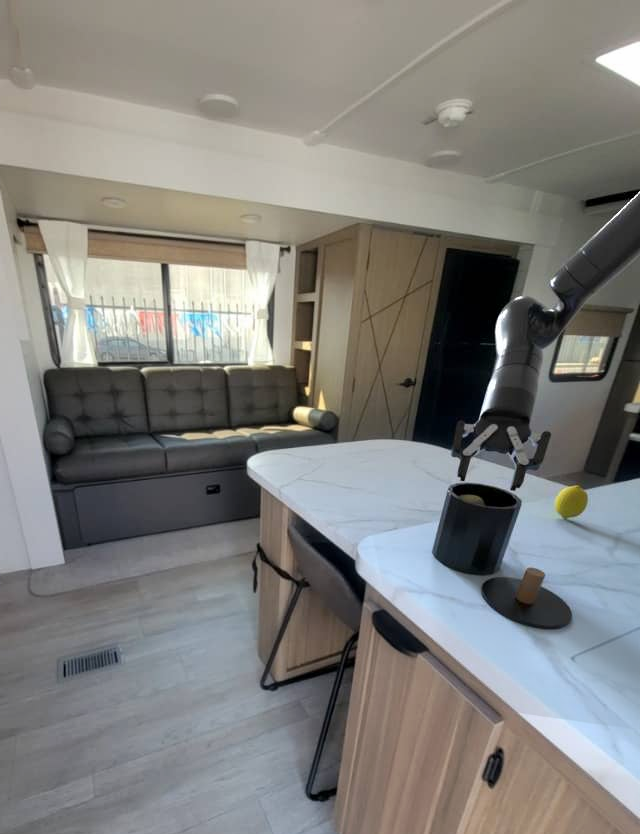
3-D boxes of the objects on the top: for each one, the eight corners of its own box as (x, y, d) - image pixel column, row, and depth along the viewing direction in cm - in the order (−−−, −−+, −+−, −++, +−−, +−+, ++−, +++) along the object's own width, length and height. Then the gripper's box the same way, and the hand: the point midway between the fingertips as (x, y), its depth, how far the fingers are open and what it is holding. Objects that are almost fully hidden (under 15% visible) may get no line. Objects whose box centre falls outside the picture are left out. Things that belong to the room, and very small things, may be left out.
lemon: (546, 517, 91) (558, 484, 87) (554, 511, 94) (566, 479, 90) (575, 526, 87) (589, 492, 83) (582, 519, 90) (596, 486, 87)
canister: (485, 548, 78) (505, 485, 72) (508, 581, 68) (534, 511, 62) (425, 542, 79) (441, 480, 73) (440, 574, 69) (458, 505, 64)
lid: (545, 587, 67) (558, 555, 64) (586, 637, 56) (604, 601, 53) (469, 579, 68) (479, 547, 65) (496, 626, 58) (509, 591, 55)
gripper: (466, 380, 69) (441, 464, 65) (566, 389, 63) (546, 482, 59) (461, 407, 76) (438, 484, 72) (552, 417, 70) (533, 503, 65)
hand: (487, 483), depth 65 cm, fingers open, 6 cm apart
